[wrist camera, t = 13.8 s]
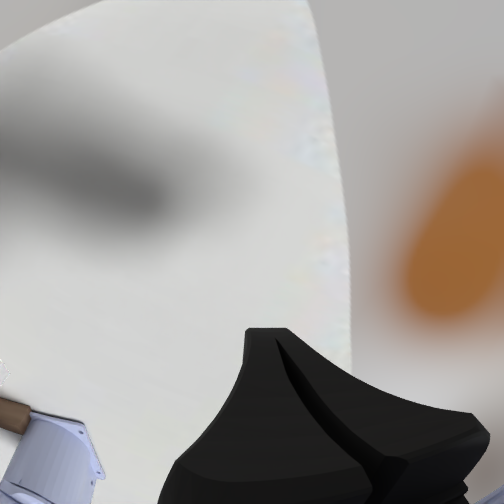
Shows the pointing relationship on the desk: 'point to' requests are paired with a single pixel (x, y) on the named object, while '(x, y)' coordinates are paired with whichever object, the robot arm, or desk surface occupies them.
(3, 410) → the box
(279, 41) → the desk surface
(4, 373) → the bracket
